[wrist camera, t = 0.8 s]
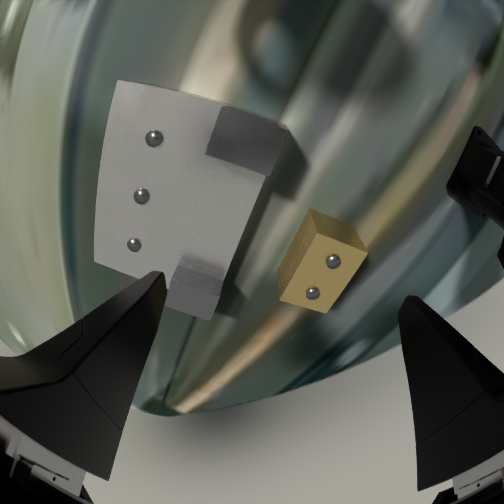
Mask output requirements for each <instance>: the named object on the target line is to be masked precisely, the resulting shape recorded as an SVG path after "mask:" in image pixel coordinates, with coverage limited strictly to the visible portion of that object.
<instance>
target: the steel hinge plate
mask: <svg viewBox="0 0 504 504" xmlns="http://www.w3.org/2000/svg"><path fill="white" fill-rule="evenodd" d="M288 133H289V129H288V128H287V126H286V125H285V124H282V123H280V122H277V121H274V120H272V119H269V118H266V117H264V116H261V115H258V114H255V113H253V112H250V111H247V110H244V109H241V108H238V107H235V106H232V105H229V104H225V103H222V102H219V101H215V100H212V99H209V98H205V97H201V96H198V95H194V94H190V93H186V92H182V91H178V90H174V89H170V88H165V87H161V86H156V85H151V84H146V83H140V82H135V81H129V80H118V81H117V84H116V88H115V92H114V96H113V100H112V104H111V108H110V113H109V117H108V122H107V127H106V132H105V138H104V143H103V150H102V156H101V163H100V170H99V179H98V188H97V199H96V213H95V234H94V261H95V262H97V263H100V264H102V265H105V266H107V267H110V268H112V269H115V270H117V271H120V272H122V273H125V274H128V275H130V276H133V277H135V278H138V279H141V278H142V277H144V276H145V275H147V274H148V273H150V272H151V271H161V272H163V273H164V274H165V280H166V286H167V289H168V295H167V299H166V304H165V306H167V307H170V308H172V309H175V310H178V311H181V312H184V313H187V314H190V315H193V316H196V317H199V318H203V319H206V320H209V321H211V318H212V316H213V313H214V311H215V308H216V306H217V303H218V301H219V298H220V295H221V290H222V286H223V281H224V278H225V276H226V273H227V271H228V268H229V266H230V263H231V261H232V258H233V256H234V253H235V251H236V248H237V246H238V243H239V241H240V239H241V236H242V234H243V231H244V229H245V226H246V224H247V221H248V219H249V216H250V214H251V212H252V209H253V207H254V204H255V202H256V199H257V197H258V195H259V192H260V190H261V187H262V185H263V183H264V180H265V178H266V176H268V177H270V175H271V173H272V170H273V168H274V166H275V163H276V161H277V159H278V156H279V154H280V152H281V149H282V147H283V145H284V142H285V140H286V138H287V135H288Z"/></svg>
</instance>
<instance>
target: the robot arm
mask: <svg viewBox="0 0 504 504" xmlns="http://www.w3.org/2000/svg"><path fill="white" fill-rule="evenodd" d="M477 132H478V133H477ZM452 185H453V187H452ZM447 189H448V190H449V191H451V192H452V193H453V194H454V195H456V196H457V197H458V198H459V199H461V200H462V201H463V202H464V203H465V204H467V205H468V206H469V207H470V208H471V209H473V210H474V211H475V212H476V213H477V214H478V215H479V216H481V217H482V218H483V219H484V218H486V217H487V216H488V217H490V218H491V219H492V220H493V221H494V222H495V223H497V224H498V225H499V226H500V227H501V228H502V229H503V230H504V151H502V150H500V148H499V147H498V146H497V145H496V144H495V142H494V141H493V140H492V139H491V138H490V137H489V136H488V135H487V134H486V132H485V131H484V130H483V129H482V128H481V127H478V126H475V127H474V128H473V130H472V133H471V135H470V137H469V140H468V142H467V144H466V146H465V148H464V151H463V153H462V155H461V157H460V159H459V161H458V163H457V165H456V167H455V169H454V171H453V173H452V175H451V177H450V179H449V181H448V183H447ZM483 213H484V214H483ZM497 256H498V258H499V261H500V263H501V265H502V267H503V269H504V237H503V241H502V244H501V248H500V249H499V251H498V254H497ZM166 296H167V286H166V280H165V274H164V273H163V272H161V271H151V272H150V273H148V274H147V275H145V276H144V277H142V278H141V279H139V280H137V281H136V282H134V283H133V284H131V285H130V286H128V287H127V288H125V289H124V290H122V291H121V292H119V293H118V294H116V295H115V296H113V297H112V298H110V299H109V300H107V301H106V302H105V303H103V304H102V305H100V306H99V307H97V308H96V309H94V310H93V311H91V312H90V313H89V314H87V315H86V316H84V317H83V319H80V320H78V321H77V322H76V323H74V324H73V325H71V326H70V327H68V328H67V329H65V330H64V331H62V332H60V333H59V334H57V335H56V336H54V337H52V338H51V339H49V340H47V341H46V342H44V343H42V344H41V345H39V346H37V347H35V348H34V349H32V350H30V351H29V352H27V353H25V354H23V355H20V356H16V357H1V356H0V504H94V503H93V502H92V500H91V498H90V497H89V495H88V493H87V491H86V489H85V488H84V486H83V480H84V477H85V474H86V472H88V473H91V474H93V475H95V476H97V477H100V478H102V479H104V480H107V481H109V478H110V474H111V470H112V467H113V463H114V460H115V456H116V452H117V449H118V446H119V442H120V439H121V435H122V431H123V428H124V425H125V422H126V419H127V415H128V412H129V409H130V406H131V403H132V400H133V397H134V394H135V391H136V388H137V385H138V382H139V380H140V377H141V374H142V371H143V368H144V366H145V363H146V360H147V357H148V355H149V352H150V349H151V346H152V344H153V341H154V339H155V336H156V333H157V330H158V326H159V322H160V318H161V315H162V311H163V307H164V303H165V300H166ZM398 320H399V328H400V335H401V344H402V351H403V356H404V361H405V366H406V372H407V377H408V383H409V390H410V396H411V403H412V411H413V419H414V426H415V427H414V428H415V439H416V455H417V489H418V491H421V490H424V489H427V488H429V487H432V486H435V485H437V484H440V483H442V482H445V481H447V480H450V479H452V480H453V487H451V488H449V489H446V490H444V491H442V492H439V493H438V495H437V497H436V499H435V500H434V501H433V503H432V504H504V373H503V372H502V371H500V370H499V369H498V368H497V367H496V366H495V365H494V364H492V363H491V362H490V361H489V360H488V359H487V358H486V357H485V356H484V355H483V354H482V353H480V352H479V351H478V350H477V349H476V348H475V347H474V346H473V345H472V344H471V343H470V342H469V341H468V340H467V339H466V338H464V337H463V336H462V335H461V334H460V333H459V332H458V331H457V330H456V329H455V328H453V327H452V326H451V325H450V324H449V323H448V322H447V321H446V320H444V319H443V318H442V317H441V316H440V315H439V314H438V313H436V312H435V311H434V310H433V309H432V308H431V307H429V306H428V305H427V304H426V303H425V302H423V301H422V300H421V299H420V298H419V297H417V296H412V295H409V296H407V297H406V298H405V300H404V302H403V304H402V306H401V308H400V309H399V312H398Z"/></svg>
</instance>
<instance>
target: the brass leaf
mask: <svg viewBox="0 0 504 504" xmlns="http://www.w3.org/2000/svg"><path fill="white" fill-rule="evenodd" d="M367 254H368V252H367V250H366V248H365V246H364V244H363V242H362V241H361V239H360V237H359V235H358V233H357V231H356V230H355V228H354V226H351V225H349V224H347V223H344V222H342V221H340V220H337V219H335V218H333V217H330V216H328V215H325V214H323V213H321V212H318V211H316V210H313V209H311V208H309V209H308V211H307V213H306V215H305V217H304V219H303V221H302V223H301V225H300V227H299V229H298V231H297V233H296V235H295V237H294V239H293V241H292V243H291V245H290V247H289V249H288V251H287V253H286V254H285V256H284V258H283V260H282V262H281V264H280V266H279V268H278V282H279V300H281V301H284V302H287V303H291V304H294V305H298V306H301V307H305V308H308V309H312V310H315V311H319V312H322V313H327V312H328V310H329V309H330V308H331V306H332V305H333V303H334V302H335V301H336V299H337V298H338V297H339V295H340V294H341V292H342V291H343V290H344V288H345V287H346V285H347V284H348V282H349V281H350V280H351V278H352V277H353V275H354V274H355V272H356V271H357V269H358V268H359V266H360V265H361V263H362V262H363V260H364V259H365V257H366V256H367Z"/></svg>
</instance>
